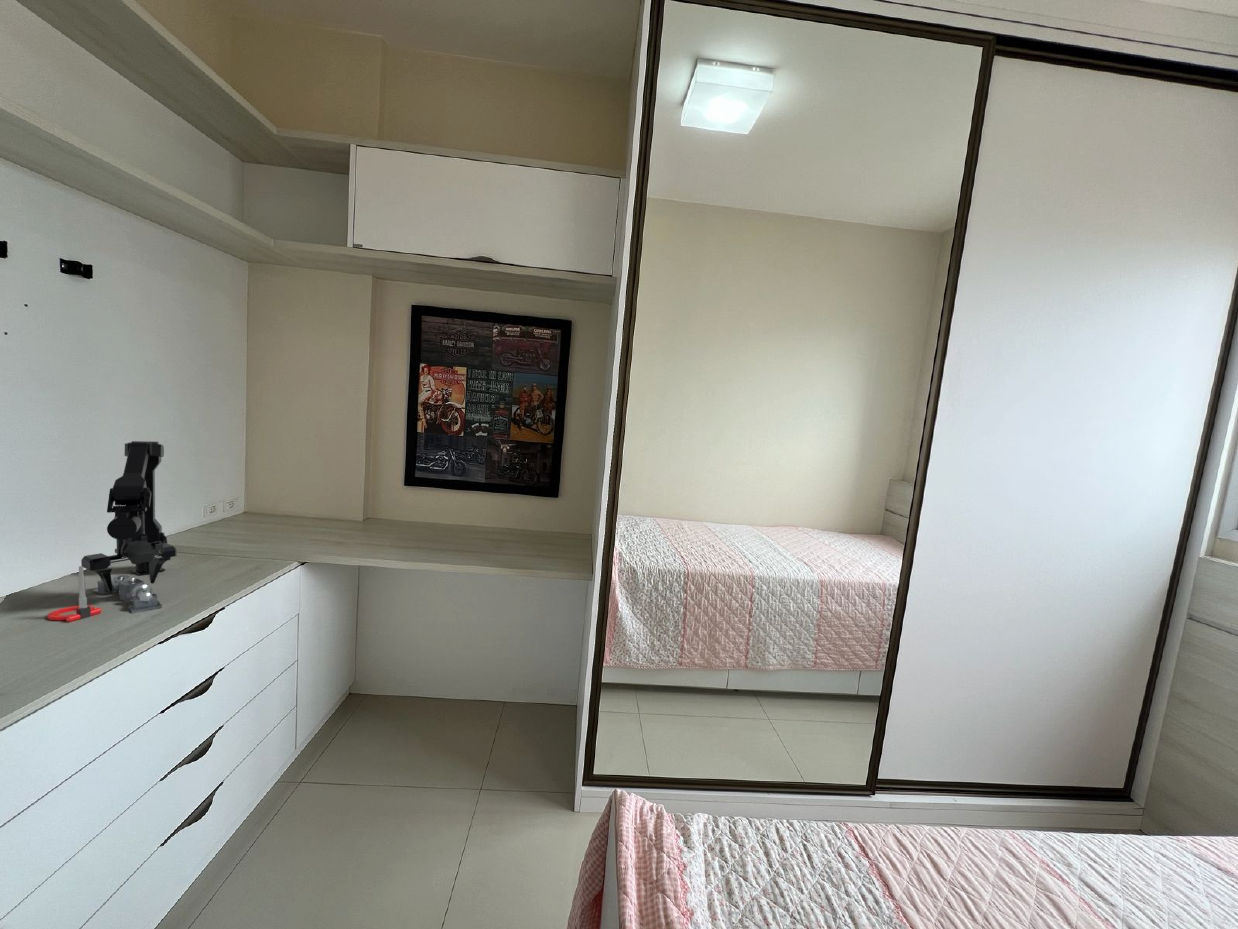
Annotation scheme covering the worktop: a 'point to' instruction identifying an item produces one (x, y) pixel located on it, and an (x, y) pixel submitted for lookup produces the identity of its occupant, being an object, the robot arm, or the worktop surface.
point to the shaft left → (115, 584)
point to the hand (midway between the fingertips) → (131, 587)
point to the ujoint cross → (128, 588)
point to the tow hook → (81, 610)
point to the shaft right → (143, 599)
